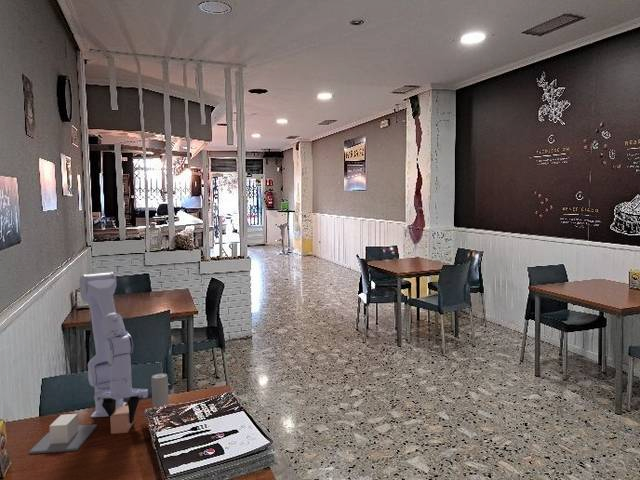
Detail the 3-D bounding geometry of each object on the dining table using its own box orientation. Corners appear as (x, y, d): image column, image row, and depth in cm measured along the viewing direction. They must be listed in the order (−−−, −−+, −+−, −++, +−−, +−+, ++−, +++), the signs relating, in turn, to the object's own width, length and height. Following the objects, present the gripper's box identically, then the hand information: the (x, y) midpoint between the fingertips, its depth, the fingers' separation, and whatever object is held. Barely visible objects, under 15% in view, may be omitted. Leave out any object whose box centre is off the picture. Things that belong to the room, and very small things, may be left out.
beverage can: (163, 417, 141) (162, 378, 140) (149, 416, 142) (148, 378, 141) (172, 410, 146) (170, 373, 145) (158, 409, 147) (156, 372, 146)
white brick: (62, 431, 132) (61, 414, 131) (78, 430, 132) (77, 413, 132) (50, 444, 125) (49, 426, 124) (68, 442, 125) (67, 424, 125)
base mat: (53, 429, 135) (53, 427, 135) (96, 426, 136) (96, 424, 136) (29, 453, 121) (29, 451, 121) (77, 450, 122) (77, 448, 122)
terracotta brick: (118, 422, 138) (118, 406, 138) (134, 421, 139) (133, 405, 139) (111, 433, 131) (110, 416, 131) (127, 432, 132) (126, 415, 132)
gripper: (89, 383, 129) (91, 430, 130) (142, 380, 131) (144, 427, 132) (98, 374, 136) (100, 419, 137) (149, 371, 138) (151, 416, 139)
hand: (122, 422), depth 135 cm, fingers closed on terracotta brick, 4 cm apart
